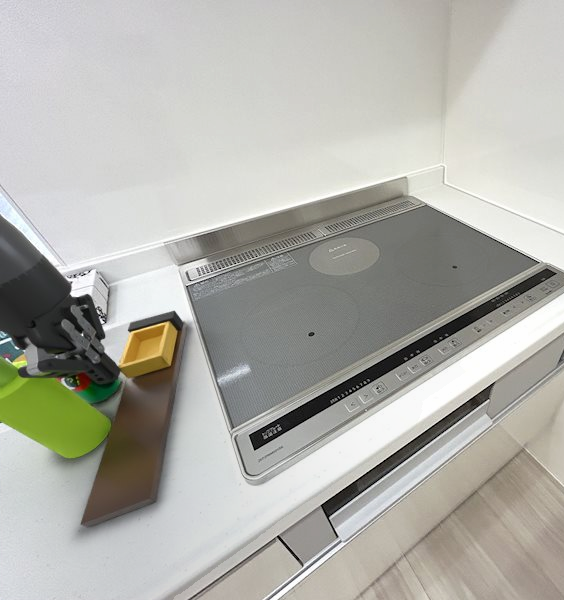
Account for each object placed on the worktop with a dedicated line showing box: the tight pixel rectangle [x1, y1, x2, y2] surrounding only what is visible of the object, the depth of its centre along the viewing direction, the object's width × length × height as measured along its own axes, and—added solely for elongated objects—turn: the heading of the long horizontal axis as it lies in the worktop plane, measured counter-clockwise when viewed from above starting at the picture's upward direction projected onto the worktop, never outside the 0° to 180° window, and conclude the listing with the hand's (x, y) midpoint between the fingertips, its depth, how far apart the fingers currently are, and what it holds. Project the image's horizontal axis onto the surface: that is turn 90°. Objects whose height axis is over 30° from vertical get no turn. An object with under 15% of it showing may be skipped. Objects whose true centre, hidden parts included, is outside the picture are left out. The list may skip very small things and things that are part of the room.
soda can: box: [21, 350, 121, 404], centre depth 47 cm, size 5×5×12 cm
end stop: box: [127, 310, 184, 333], centre depth 57 cm, size 2×7×3 cm, turn 110°
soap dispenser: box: [0, 355, 112, 459], centre depth 39 cm, size 6×7×20 cm
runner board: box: [80, 320, 188, 528], centre depth 48 cm, size 31×7×1 cm, turn 20°
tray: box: [117, 321, 178, 379], centre depth 53 cm, size 8×6×3 cm
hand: (111, 377), depth 43 cm, fingers closed
